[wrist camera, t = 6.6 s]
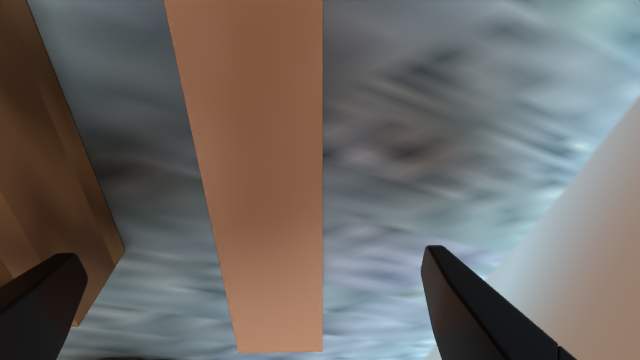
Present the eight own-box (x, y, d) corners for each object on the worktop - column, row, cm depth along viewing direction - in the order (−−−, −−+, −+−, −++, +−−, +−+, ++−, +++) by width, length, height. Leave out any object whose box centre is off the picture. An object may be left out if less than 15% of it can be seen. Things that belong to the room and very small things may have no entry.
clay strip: (320, 278, 18) (322, 351, 15) (252, 279, 18) (238, 353, 15) (318, -84, 10) (322, -100, 7) (197, -83, 10) (142, -100, 7)
